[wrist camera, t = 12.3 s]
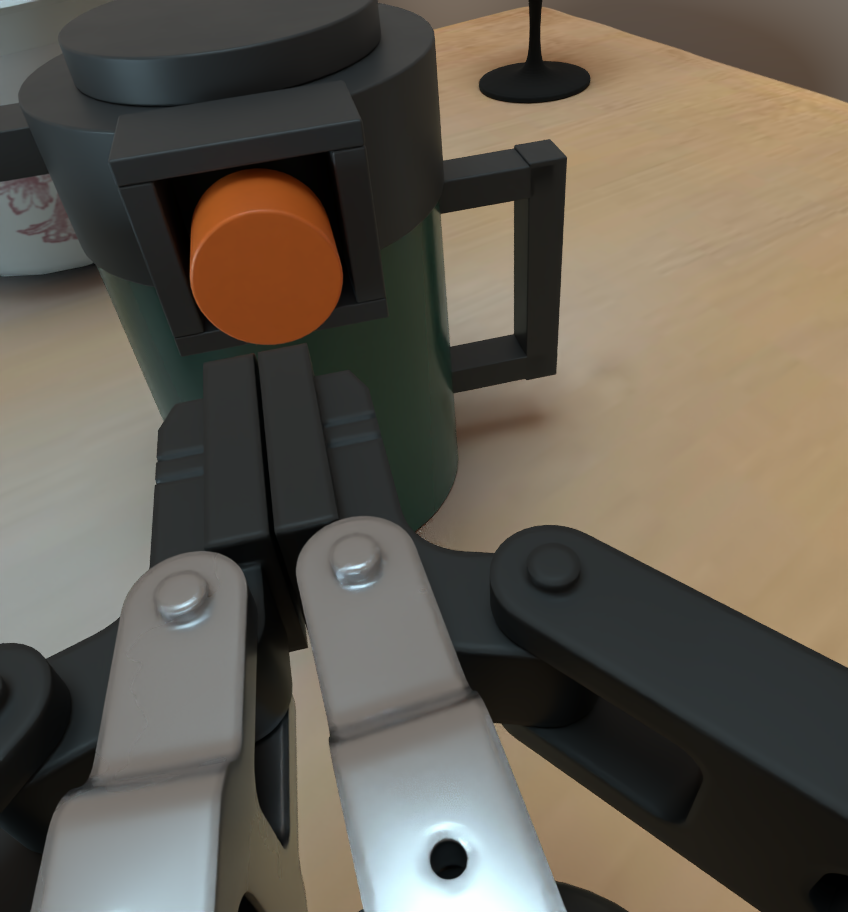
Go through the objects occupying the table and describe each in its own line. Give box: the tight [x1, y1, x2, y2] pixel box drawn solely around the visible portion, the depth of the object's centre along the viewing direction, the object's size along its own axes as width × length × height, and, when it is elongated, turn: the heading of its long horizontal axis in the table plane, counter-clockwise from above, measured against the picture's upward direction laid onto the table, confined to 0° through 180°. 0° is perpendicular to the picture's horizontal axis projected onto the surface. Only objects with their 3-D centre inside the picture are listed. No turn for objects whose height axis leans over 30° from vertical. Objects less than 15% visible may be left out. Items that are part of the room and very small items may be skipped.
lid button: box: [190, 168, 343, 345], centre depth 18 cm, size 2×3×3 cm
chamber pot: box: [0, 0, 114, 276], centre depth 48 cm, size 28×28×21 cm
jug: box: [0, 0, 567, 532], centre depth 27 cm, size 15×19×19 cm
